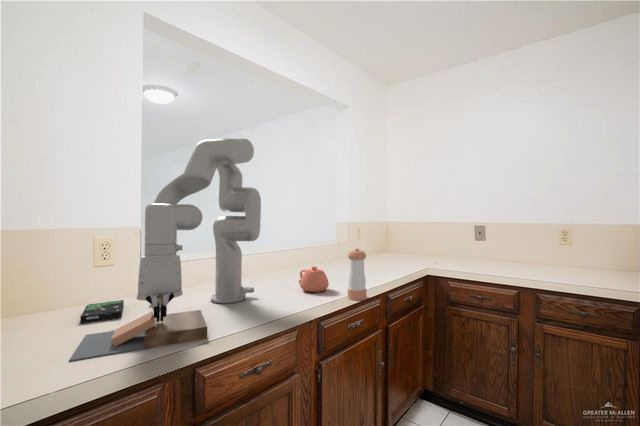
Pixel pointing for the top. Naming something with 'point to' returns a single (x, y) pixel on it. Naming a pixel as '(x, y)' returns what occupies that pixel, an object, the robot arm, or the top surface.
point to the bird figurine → (159, 299)
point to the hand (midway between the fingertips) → (159, 319)
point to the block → (133, 328)
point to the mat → (105, 345)
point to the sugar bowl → (313, 280)
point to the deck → (176, 329)
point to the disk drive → (102, 311)
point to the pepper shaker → (357, 276)
